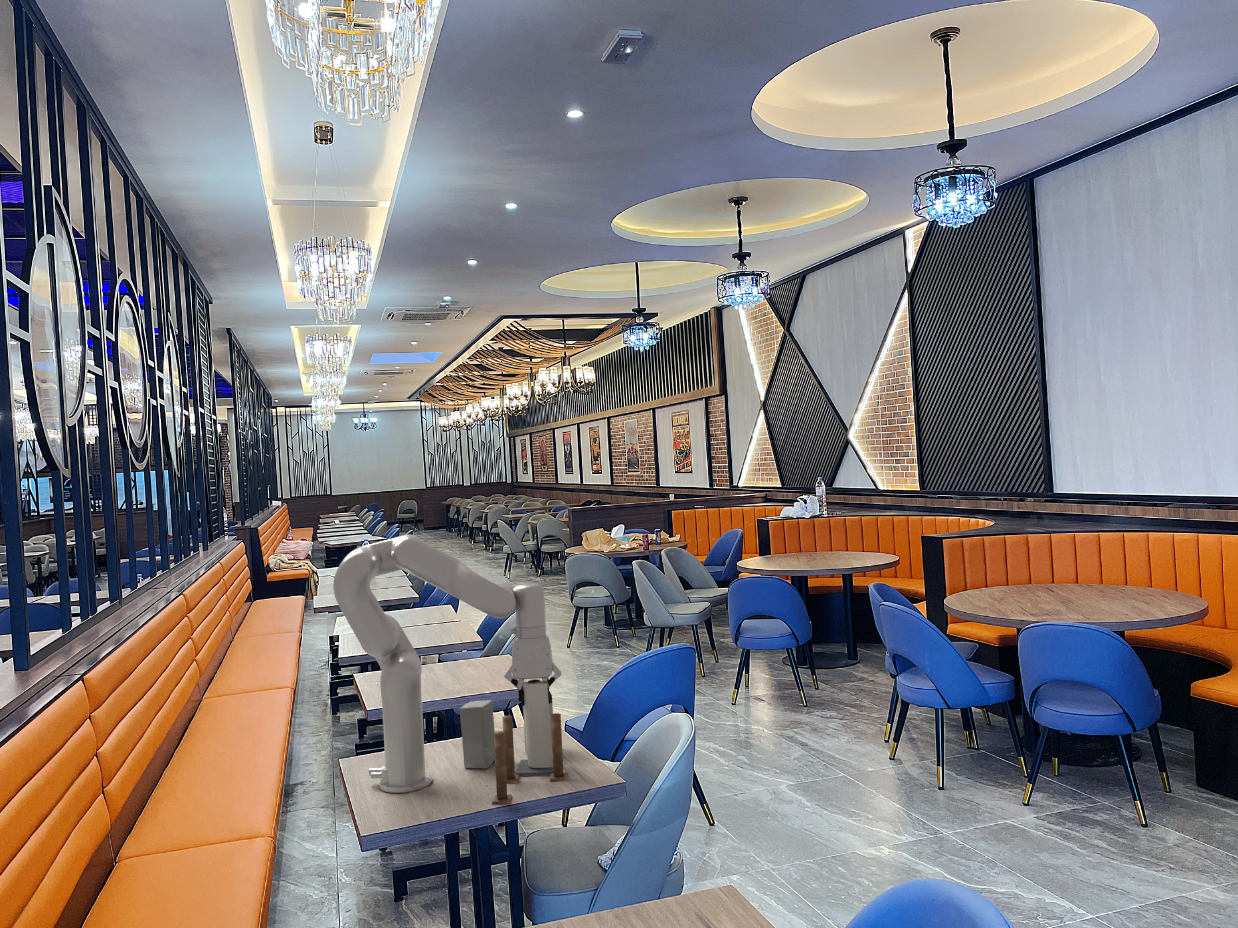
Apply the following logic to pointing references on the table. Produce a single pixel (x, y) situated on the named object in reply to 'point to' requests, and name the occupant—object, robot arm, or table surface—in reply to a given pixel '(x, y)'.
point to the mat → (532, 770)
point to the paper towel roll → (537, 724)
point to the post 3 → (557, 749)
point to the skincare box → (478, 734)
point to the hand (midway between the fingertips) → (534, 702)
